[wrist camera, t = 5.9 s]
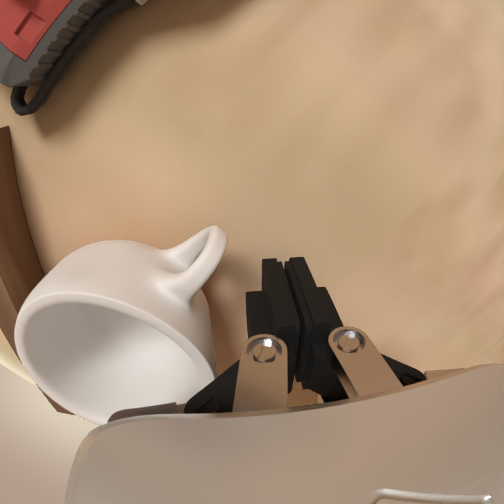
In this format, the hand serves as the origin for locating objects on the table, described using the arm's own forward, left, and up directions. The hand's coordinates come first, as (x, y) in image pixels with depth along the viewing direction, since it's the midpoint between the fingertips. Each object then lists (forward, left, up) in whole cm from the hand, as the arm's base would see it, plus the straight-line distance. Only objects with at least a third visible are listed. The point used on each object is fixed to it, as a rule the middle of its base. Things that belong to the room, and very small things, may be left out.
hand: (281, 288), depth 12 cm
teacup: (+6, 0, -2) cm, 6 cm away
